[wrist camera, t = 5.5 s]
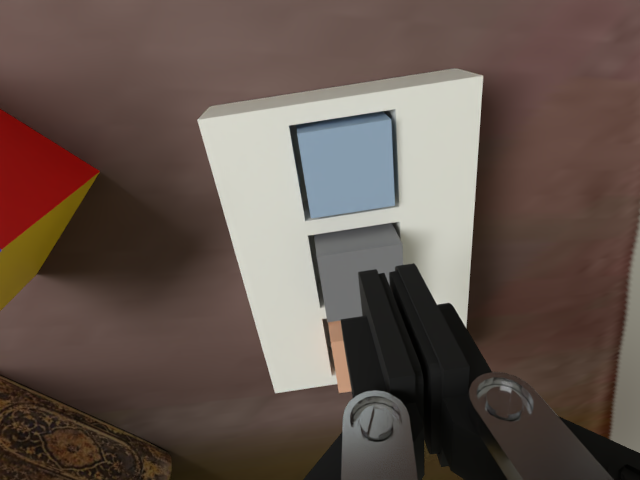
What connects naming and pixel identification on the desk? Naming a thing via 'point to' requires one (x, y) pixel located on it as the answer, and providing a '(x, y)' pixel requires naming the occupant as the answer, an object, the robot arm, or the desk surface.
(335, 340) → the terracotta button
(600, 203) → the desk surface
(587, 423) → the desk surface
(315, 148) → the slate blue button
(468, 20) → the desk surface
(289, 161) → the button panel
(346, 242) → the charcoal button
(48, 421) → the book
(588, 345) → the desk surface
